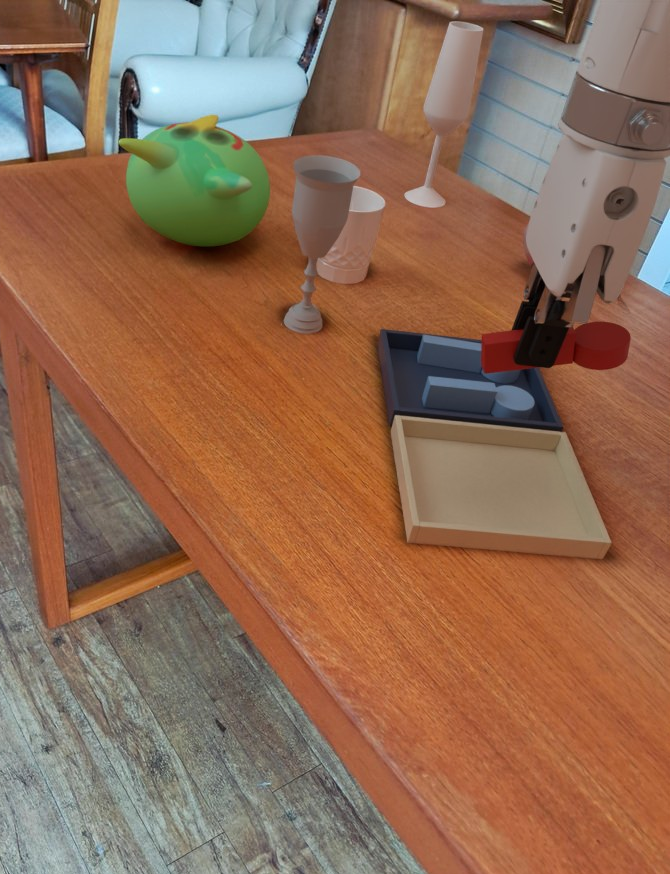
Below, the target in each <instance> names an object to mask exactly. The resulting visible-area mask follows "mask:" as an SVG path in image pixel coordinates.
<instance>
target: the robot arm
mask: <svg viewBox="0 0 670 874" xmlns="http://www.w3.org/2000/svg"><path fill="white" fill-rule="evenodd" d="M594 15H595V16H594V19H593V21H592V25H591V26H590V27H591V28H590V30H589V34H588V36H587V39H586V42H585V45H584V48H583V51H582V53H581V57H580V60H579V63H578V66H577V69H576V71H575V74H574V77H573V80H572V82H571V86H570V89H569V92H568V94H567V98H566V99H565V100H566V101H565V103H564V107H563V109H562V111H561V115H560V117H559V120H558V123H557V127H558V130H560V132H561V133H562V135H561V137H560V139H559V142H558V144H557V146H556V148H555V151H554V154H553V156H552V158H551V161H550V162H549V165H548V168H547V171H546V173H545V175H544V178H543V181H542V183H541V186H540V189H539V191H538V194H537V196H536V200H535V203H534V206H533V208H532V212H531V214H530V218H529V221H528V224H529V225H528V224H527V225H528V228H527V233H526V244H527V247H528V250H529V252H530V255H531V257H532V259H533V261H534V262H533V264H532V266H530V272H529V275H528V278H527V281H526V283H525V287H524V289H523V299H524V300H522V301H521V302H520V304H519V305H520V306H519V308H518V311H517V314H516V316H515V319H514V322H513V325H512V327H511V330H521V329H524V330H523V333H522V335H521V338H520V341H519V343H518V346H517V349H516V351H515V354H514V357H513V359H514V362H515V363H516V364H517V365H524V366H533V367H539V368H541V369H542V368H543V369H551V368H552V367H554V366H553V365H554V363H555V361H556V358H557V356H558V354H559V351H560V349H561V346H562V344H563V342H564V339H565V337H566V334H567V332H568V330H569V328H571V327H572V326H573V327H574V325H575V324H579V325H583V324H587V323H589V320H590V317H591V313H592V309H593V306H594V302H595V298H596V295H598V296H599V298H600V300H601V301H603V303H605V304H613V303H614V302H616V301H617V300H618V298H619V297H620V295H621V293H622V291H623V288H624V286H625V284H626V282H627V280H628V277H629V275H630V272H631V270H632V267H633V264H634V262H635V260H636V257H637V256H638V252H639V250H640V248H641V244H642V242H643V239H644V237H645V234H646V230H647V229H648V225H649V223H650V220H651V218H652V214H653V211H654V208H655V205H656V202H657V198H658V195H659V193H660V188H661V185H662V181H663V178H664V174H665V170H666V165H667V161H666V158H668V157H670V0H599V4H598V6H597V11H596V12H595V14H594ZM596 293H597V294H596ZM563 298H566V299H568V300H563Z"/></svg>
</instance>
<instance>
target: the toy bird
mask: <svg viewBox="0 0 670 874" xmlns="http://www.w3.org/2000/svg"><path fill="white" fill-rule="evenodd" d="M218 121H219V116H218V114H208V115H205V116H202V117H199V118H196V119H195V120H192V121H190V122H178V123H172V124H168V125H165V126H162V127H159V128H156V129H155V130H152V131H150V133H148V134H146V135H145V136H144V137H143V138H142V139H141V138H131V137H125V138H123V137H122V138H120V139H119V140H118V142H117V143H118V145H119V146H120V147H121V148H122V149H123V150H125V151H127V152H128V153H130V154H131V155H130V157H129V160H128V162H127V166H126V172H125V185H126V191H127V195H128V198H129V201H130V204H131V205H132V208H133V209H134V211H135V212H136V214H137V215H138V217H139V218H140V219H141V220H142V221H143V222H144V224H145V225H147V226H148V227H149V228H150V229H152V230H153V231H154V232H155V233H157V234H159V235H160V236H162V237H165V238H167V239H169V240H171V241H174V242H175V243H176V242H177V243H180V244H184V245H187V246H192V247H193V246H194V247H203V248H204V247H206V248H207V247H208V248H209V247H219V246H224V245H228V244H232V243H234V242H237V241H239V240H241V239H244V238H245V237H246V236H248V235H250V233H251V232H253V231H254V230H255V228H257V226H259V224H260V223H261V221H262V220H263V218H264V216H265V214H266V212H267V209H268V206H269V202H270V195H271V184H270V183H271V182H270V177H269V173H268V170H267V167H266V164H265V163H264V161H263V159H262V157H261V156H260V155H259V153H258V152H257V150H256V149H255V148H254V147H253V145H251V144H250V143H249V142H247V141H246V140H245V139H243V138H242V137H240V135H237V134H236V133H233V132H232V131H230V130H228V129H225V128H222V127H220V126H217V124H218Z"/></svg>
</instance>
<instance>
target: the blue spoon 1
mask: <svg viewBox="0 0 670 874" xmlns="http://www.w3.org/2000/svg"><path fill="white" fill-rule="evenodd" d="M417 359H418V363H419V364H425V365H432V366H438V367H444V368H451V369H457V370H463V371H470V372H476V373H480V372H481V374H482V375H483V376H484V377H486V378H487V379H489V380H491V381H494V382H497V383H503V384H508V383H513V382H515V381H516V380H517V379H518V376H519V374H520V371H521V370H513V371H504V372H496V373H487V374H484V371H483V368H482V365H481V344H480V343H474V342H468V341H461V340H455V339H449V338H443V337H436V336H430V335H423V336H422V340H421V344H420V348H419V351H418V355H417Z"/></svg>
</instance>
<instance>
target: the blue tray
mask: <svg viewBox="0 0 670 874" xmlns="http://www.w3.org/2000/svg"><path fill="white" fill-rule="evenodd" d="M423 335H430V336H436V337H443V338H449V339H455V340H461V341H468V342H474V343H480V344H481V342H482V339H477V338H467V337H460V336H459V337H458V336H449V335H441V334H431V333H423V332H414V331H412V332H411V331H405V330H396V329H386V328H380V330H379V334H378V339H377V343H376V346H377V347H376V348H377V353H378V357H379V358H378V360H379V365H380V372H381V378H382V385H383V392H384V397H385V405H386V412H387V417H388V424H389V425H388V426H389V427H390V428H392V424H393V421H394V417H395V415H399V416H409V417H419V418H429V419H439V420H449V421H459V422H469V423H479V424H489V425H499V426H508V427H518V428H528V429H538V430H548V431H558V432H563V430H564V424H563V423H562V420H561V417H560V415H559V412H558V410H557V408H556V405H555V403H554V401H553V398H552V396H551V394H550V391H549V389H548V386H547V384H546V382H545V379H544V377H543V374H542V372H541V370H540V367H538V368H530V369H521V371H520V374H519V376H518V379H517V380H516V381H515V382H513V383H508V384H503V383H497V382H494V381H491V380H489V379H487V378H486V377H484V376H483V375H482V374H481V372H480V373H476V372H470V371H463V370H457V369H451V368H444V367H438V366H432V365H425V364H419V363H418V359H417V355H418V351H419V348H420V344H421V340H422V336H423ZM428 376H432V377H442V378H451V379H461V380H471V381H480V382H490V383H495V386H496V388H497V387H499V386H503V385H509V386H515V387H518V388H521V389H523V390H525V391H526V392H528V393H529V394H530V395H531V396H532V397H533V399H534V402H535V404H534V407H533V409H532V412H531V414H530V417H529V419H528V420H522V419H512V418H502V417H494V416H493V415H492V414H491V413H489V414H488V413H478V412H468V411H458V410H448V409H438V408H428V407H424V406H423V401H422V396H423V392H424V389H425V386H426V382H427V379H428Z"/></svg>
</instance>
